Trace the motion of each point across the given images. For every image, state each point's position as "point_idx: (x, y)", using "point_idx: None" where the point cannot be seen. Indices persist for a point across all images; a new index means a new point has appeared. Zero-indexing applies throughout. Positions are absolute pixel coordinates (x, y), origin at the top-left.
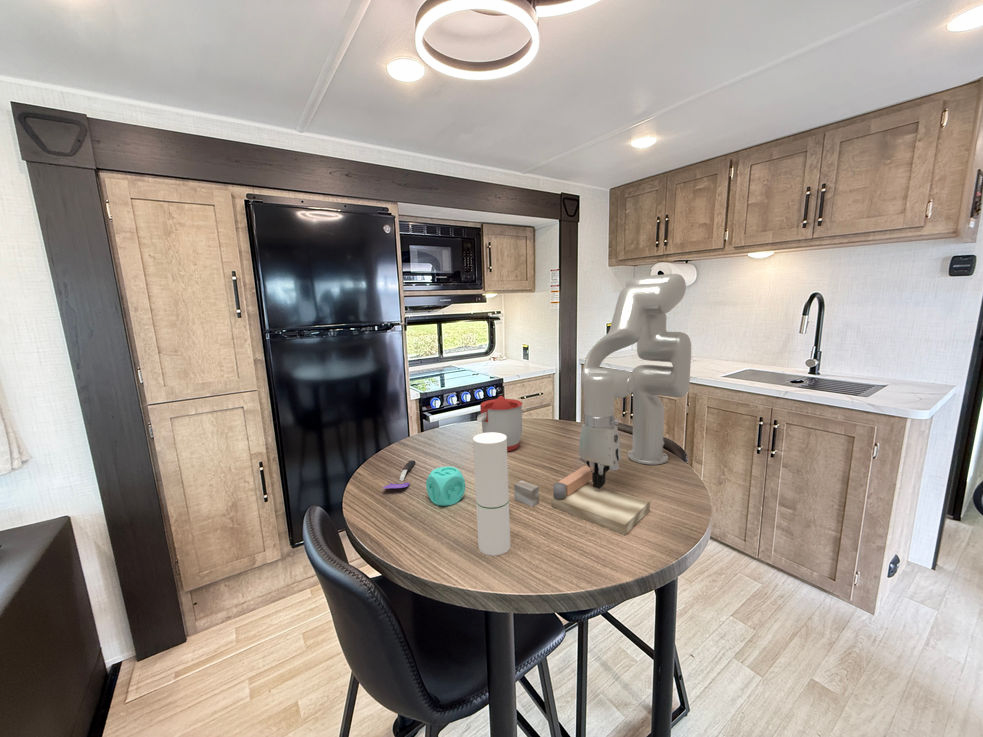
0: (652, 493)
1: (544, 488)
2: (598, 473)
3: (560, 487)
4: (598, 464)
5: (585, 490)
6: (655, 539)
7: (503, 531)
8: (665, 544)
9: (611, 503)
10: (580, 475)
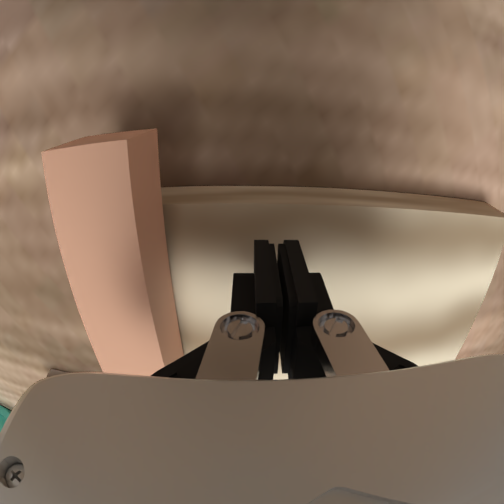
0: (461, 30)
1: (38, 295)
2: (292, 366)
3: None
4: (259, 360)
5: (212, 307)
6: (486, 337)
7: None
8: (500, 337)
9: (380, 336)
10: (144, 337)
